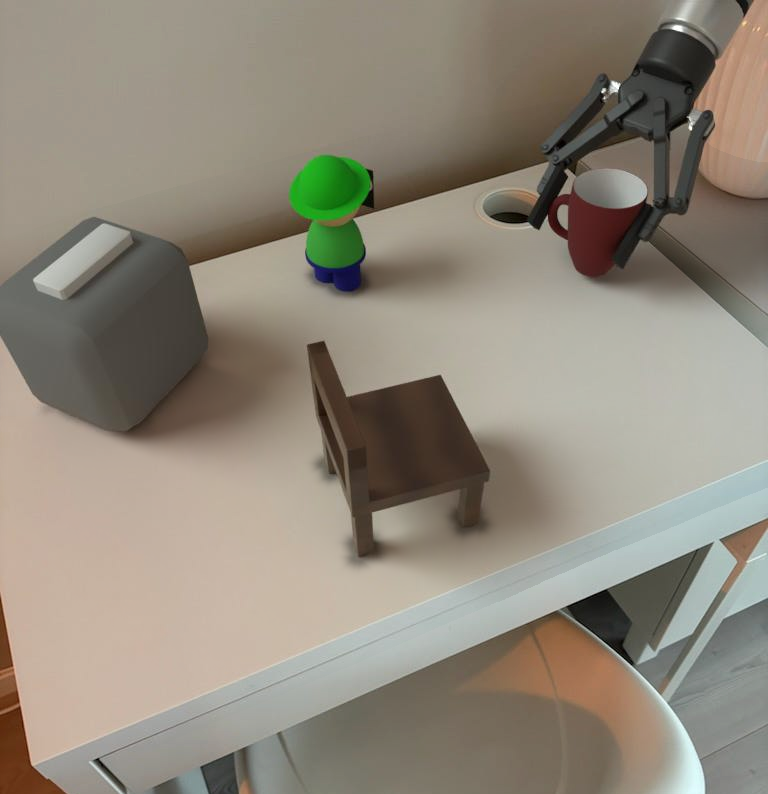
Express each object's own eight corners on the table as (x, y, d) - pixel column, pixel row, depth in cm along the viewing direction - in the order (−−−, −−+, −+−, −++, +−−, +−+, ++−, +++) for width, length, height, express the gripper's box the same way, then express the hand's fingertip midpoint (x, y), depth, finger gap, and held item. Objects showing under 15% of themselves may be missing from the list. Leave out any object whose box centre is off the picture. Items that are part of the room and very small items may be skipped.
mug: (526, 269, 89) (539, 190, 81) (552, 234, 93) (567, 155, 85) (612, 296, 85) (634, 217, 77) (635, 258, 89) (658, 179, 81)
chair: (437, 432, 75) (444, 313, 63) (481, 525, 69) (499, 412, 56) (321, 461, 73) (306, 344, 61) (356, 560, 67) (346, 450, 54)
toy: (386, 270, 91) (385, 149, 79) (348, 311, 86) (340, 189, 74) (325, 248, 94) (314, 128, 81) (285, 287, 89) (267, 166, 77)
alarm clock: (142, 321, 86) (98, 195, 73) (224, 351, 83) (192, 224, 70) (43, 414, 78) (-26, 290, 65) (129, 451, 74) (75, 328, 62)
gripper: (792, 97, 77) (670, 295, 83) (600, 35, 87) (503, 217, 93) (791, 60, 71) (659, 277, 77) (583, -3, 80) (480, 195, 86)
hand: (573, 244), depth 85 cm, fingers closed on mug, 11 cm apart
